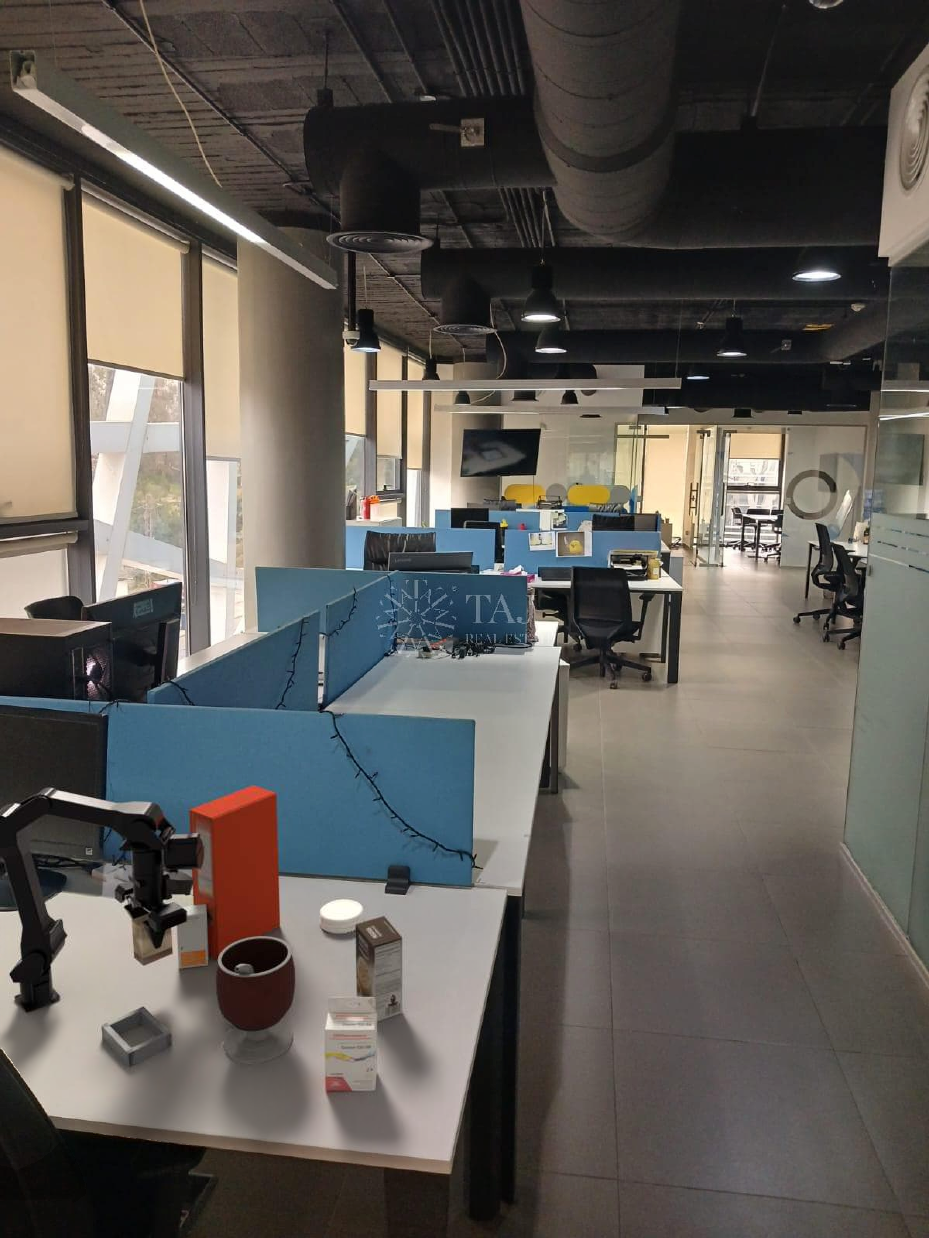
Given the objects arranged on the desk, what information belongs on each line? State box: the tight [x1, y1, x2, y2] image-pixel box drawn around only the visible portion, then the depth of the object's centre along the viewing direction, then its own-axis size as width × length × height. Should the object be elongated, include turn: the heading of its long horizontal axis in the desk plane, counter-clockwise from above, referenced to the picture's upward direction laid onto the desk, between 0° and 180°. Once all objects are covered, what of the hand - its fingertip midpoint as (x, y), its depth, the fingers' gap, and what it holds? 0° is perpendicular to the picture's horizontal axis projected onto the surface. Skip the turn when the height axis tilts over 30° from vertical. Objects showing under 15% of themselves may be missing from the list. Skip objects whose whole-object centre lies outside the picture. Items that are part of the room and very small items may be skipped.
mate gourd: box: [215, 935, 296, 1065], centre depth 157 cm, size 16×14×20 cm
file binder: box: [188, 785, 281, 961], centre depth 191 cm, size 8×17×32 cm, turn 145°
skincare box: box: [176, 904, 209, 970], centre depth 183 cm, size 6×4×12 cm
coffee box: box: [355, 915, 403, 1022], centre depth 168 cm, size 9×6×16 cm
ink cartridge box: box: [324, 996, 378, 1092], centre depth 148 cm, size 9×5×15 cm, turn 92°
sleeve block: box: [131, 913, 174, 966], centre depth 171 cm, size 4×6×8 cm, turn 135°
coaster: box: [319, 899, 365, 935], centre depth 200 cm, size 10×10×4 cm
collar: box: [101, 1005, 173, 1067], centre depth 159 cm, size 11×8×2 cm
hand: (152, 943), depth 171 cm, fingers closed on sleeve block, 4 cm apart
